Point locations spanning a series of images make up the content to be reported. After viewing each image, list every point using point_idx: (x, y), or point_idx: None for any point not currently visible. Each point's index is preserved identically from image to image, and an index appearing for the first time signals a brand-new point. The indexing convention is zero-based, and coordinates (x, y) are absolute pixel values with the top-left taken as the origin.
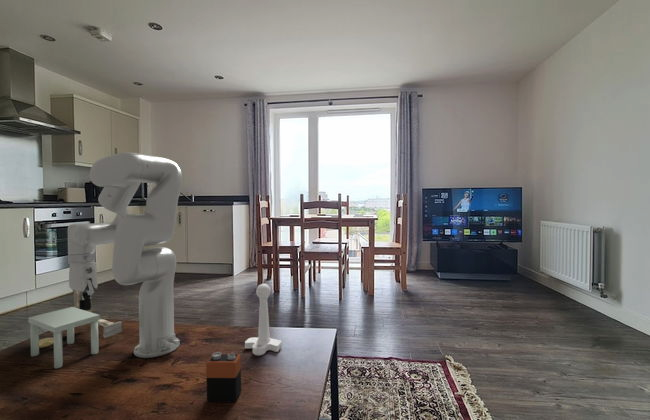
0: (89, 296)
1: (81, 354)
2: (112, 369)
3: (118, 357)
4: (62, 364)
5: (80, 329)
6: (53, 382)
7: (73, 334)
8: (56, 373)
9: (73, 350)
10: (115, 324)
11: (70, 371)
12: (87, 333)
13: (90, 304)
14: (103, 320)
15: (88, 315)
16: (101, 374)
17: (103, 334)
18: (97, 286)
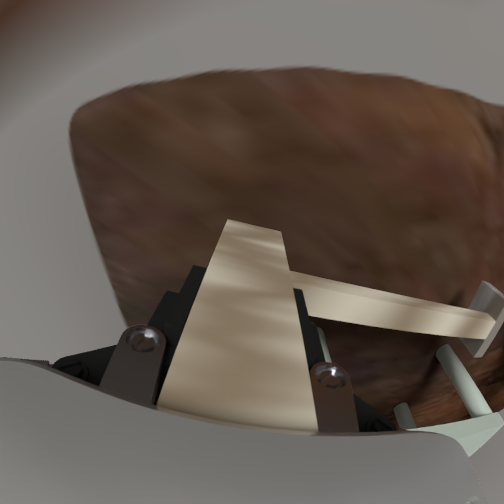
0: (363, 414)
1: (413, 366)
2: (496, 369)
3: (495, 341)
4: (407, 406)
5: (198, 219)
6: (427, 422)
7: (329, 355)
8: (413, 414)
9: (373, 362)
10: (500, 324)
11: (434, 403)
12: (290, 250)
13: (305, 313)
14: (449, 320)
15: (476, 442)
16: (485, 383)
17: (459, 338)
18: (465, 452)
